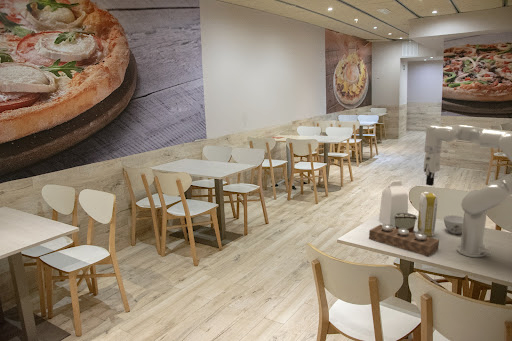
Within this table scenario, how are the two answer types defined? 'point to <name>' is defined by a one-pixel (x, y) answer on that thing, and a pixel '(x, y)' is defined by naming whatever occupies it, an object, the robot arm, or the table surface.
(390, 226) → the knob
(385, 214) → the milk
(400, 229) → the knob
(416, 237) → the knob
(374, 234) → the knob mount
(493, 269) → the table surface
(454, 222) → the teacup
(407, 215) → the food container
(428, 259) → the table surface
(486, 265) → the table surface
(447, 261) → the table surface
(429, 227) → the juice carton
